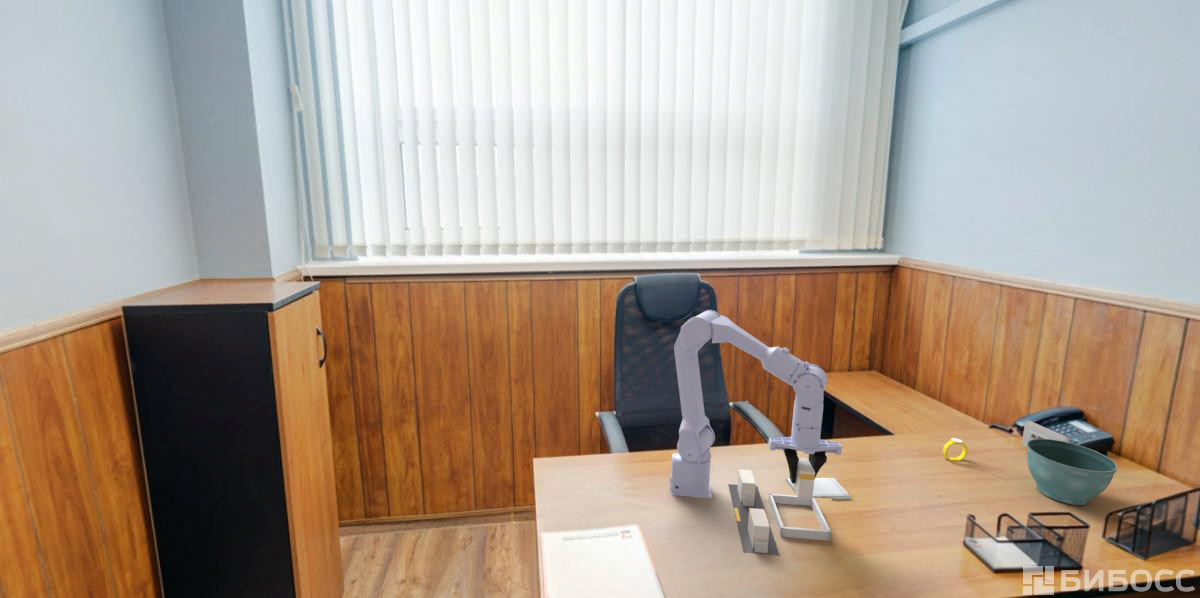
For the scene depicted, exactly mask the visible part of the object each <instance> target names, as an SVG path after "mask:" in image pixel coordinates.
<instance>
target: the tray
mask: <svg viewBox="0 0 1200 598" xmlns="http://www.w3.org/2000/svg"><path fill="white" fill-rule="evenodd" d="M768 504H769V507H770V510H771V512H772V516H773V518H774V521H775V525H776V527H777V530H778V532H779V536H780V537H781V538H784V537H785V538H791V539H792V538H794V539H804V540H805V539H806V540H818V541H827V542H828V541H829V542H830V541H832V538H831V537H832V531H831V529H830V527H829V525H828V522H827V520H826V519H825V517H824V515H823V513H822V511H821V509H820V506H819V504H818V503H817V500H816V497H813V498H803V497H797V494H796V495H794V494H793V495H791V494H779V493H768ZM776 504H783V505H784V504H785V505H797V506H809V507H811V509H812V510H813V513H814V515H815V517H816V519H817V522H818V523H819V525H820V528H821V529H818V528H804V527H803V528H802V527H793V526H792V527H791V526H784V523H783V521H782V518H781V516H780V513H779V510H778V507H777V505H776Z"/></svg>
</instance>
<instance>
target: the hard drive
mask: <svg viewBox="0 0 1200 598" xmlns="http://www.w3.org/2000/svg"><path fill="white" fill-rule="evenodd" d="M785 480H786V482H787V484H788V485H789V486H790V488H791V489H792V491H793V492H794V493H795V494H796V492H795V490H794V488H793V485H792V483H791V480H790V477H787V478H785ZM813 497H814V498H830V499H831V500H850V498H851V495H850V494H849V493H848V491H847V490H846V489H845V488H844V487H843V486H842V485H841V484H840V483H839V482H838V481H837V479H836V478H835V477H815V480H814V489H813Z"/></svg>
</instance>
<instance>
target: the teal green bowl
mask: <svg viewBox="0 0 1200 598" xmlns="http://www.w3.org/2000/svg"><path fill="white" fill-rule="evenodd" d="M1026 450H1027V451H1026V464H1027V466H1028V467H1027V468H1028V470H1029V473H1030V475H1031V478H1032V479H1033V480H1034V482H1035V484H1036V485H1035V486H1036V489H1037V490H1038V491H1039V492H1040V493H1042V494H1043V495H1044V496H1046V497H1047V498H1050V499H1053V500H1054V501H1058V502H1061V503H1065V504H1069V505H1075V506H1084V505H1087V504H1088V503H1089V501H1090V500H1091V499H1093V498H1096V497H1097V496H1100V495H1101V494H1102V493H1103V492H1104V491H1105V490H1106V489H1107V488H1108V487H1109V485H1110V484H1111V483H1112V480H1113V478H1114V474H1116V472H1117V469H1118V464H1117V463H1116V462H1115V461H1113V459H1111V458H1109V456H1106V455H1105V454H1104V453H1103V454H1102V453H1100V452H1098V451H1096V450H1094V449H1091V448H1088V447H1086V446H1083V445H1080V444H1075V443H1071V442H1070V443H1068V442H1064V441H1059V440H1052V439H1044V438H1042V439H1032V440H1029V441H1028V442H1027V448H1026Z"/></svg>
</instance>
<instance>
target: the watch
mask: <svg viewBox="0 0 1200 598" xmlns="http://www.w3.org/2000/svg"><path fill="white" fill-rule="evenodd" d="M954 444H955V445H962V451H961V454H960V455H958V456H957V457H948V453H947V452H948V450H949V448H950V447H951V446H952V445H954ZM967 454H968V446H967V445H966V444H965V443H964V442H963V440H962V439H960V438H956V437H952V438H950V440H948V441H947V442H946V443H945V444H944V445H943V448H942V455H943V456H944V458H945V459H947V460H948V461H949V462H951V461H952V462H953V461H955V462H961V461H963V459H965V458H966V456H967Z"/></svg>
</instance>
